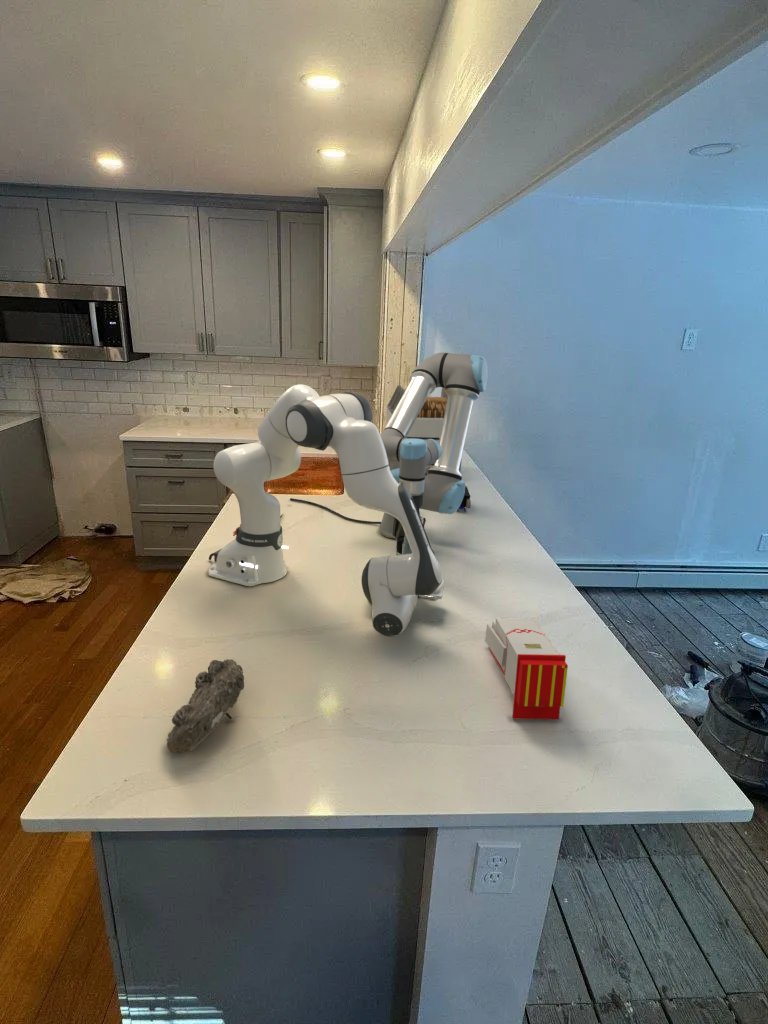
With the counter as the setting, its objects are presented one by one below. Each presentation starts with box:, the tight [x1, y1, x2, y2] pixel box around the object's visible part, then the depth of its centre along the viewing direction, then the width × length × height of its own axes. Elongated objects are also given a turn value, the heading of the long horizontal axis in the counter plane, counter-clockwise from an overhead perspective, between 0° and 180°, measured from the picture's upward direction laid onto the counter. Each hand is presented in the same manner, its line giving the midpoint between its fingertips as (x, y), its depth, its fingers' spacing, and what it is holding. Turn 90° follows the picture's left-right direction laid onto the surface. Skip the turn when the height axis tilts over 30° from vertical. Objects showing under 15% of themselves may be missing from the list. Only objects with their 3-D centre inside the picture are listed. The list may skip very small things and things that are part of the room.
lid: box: [395, 548, 402, 555], centre depth 172 cm, size 6×6×2 cm
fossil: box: [166, 658, 245, 754], centre depth 106 cm, size 22×10×15 cm
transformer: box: [385, 384, 463, 475], centre depth 268 cm, size 34×33×41 cm
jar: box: [402, 536, 412, 555], centre depth 155 cm, size 5×5×17 cm
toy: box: [484, 617, 569, 720], centre depth 122 cm, size 12×13×30 cm
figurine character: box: [456, 485, 472, 513], centre depth 228 cm, size 7×8×15 cm
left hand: (410, 571), depth 157 cm, fingers closed on jar, 5 cm apart
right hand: (406, 564), depth 173 cm, fingers closed on lid, 6 cm apart
